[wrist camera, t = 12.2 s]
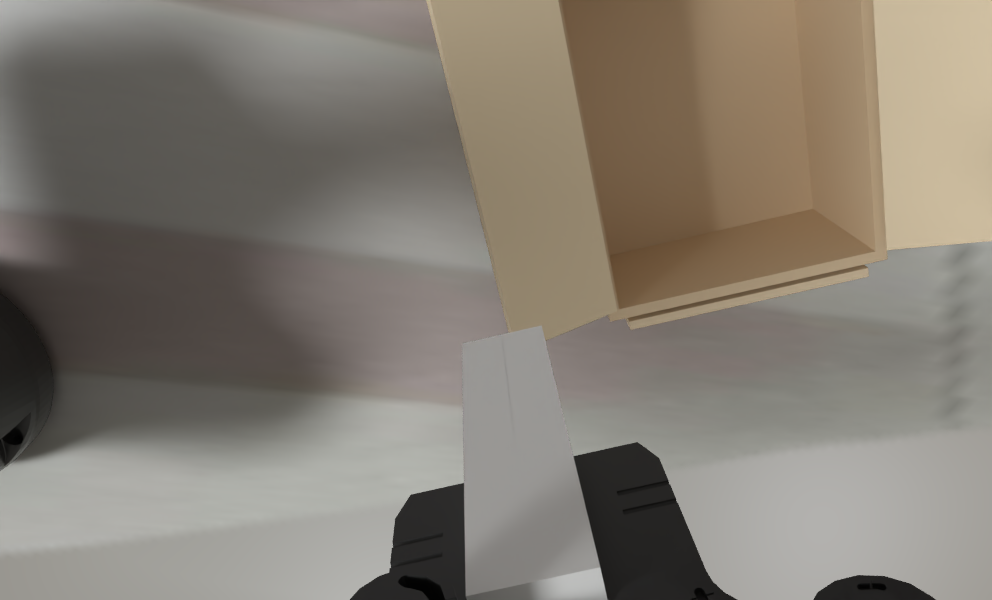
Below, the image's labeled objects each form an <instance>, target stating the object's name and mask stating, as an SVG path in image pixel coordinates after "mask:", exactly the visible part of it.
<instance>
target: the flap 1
mask: <svg viewBox="0 0 992 600" xmlns="http://www.w3.org/2000/svg"><path fill="white" fill-rule="evenodd" d="M426 1H427V5H428V9H429V13H430V17H431V21H432V25H433V29H434V33H435V37H436V41H437V45H438V49H439V54H440V58H441V62H442V66H443V70H444V74H445V78H446V82H447V86H448V90H449V94H450V98H451V102H452V106H453V110H454V114H455V118H456V122H457V126H458V130H459V134H460V138H461V142H462V146H463V150H464V154H465V158H466V162H467V166H468V170H469V175H470V179H471V183H472V187H473V191H474V195H475V199H476V203H477V207H478V211H479V215H480V219H481V223H482V227H483V231H484V235H485V239H486V243H487V247H488V251H489V255H490V259H491V263H492V267H493V271H494V275H495V279H496V283H497V287H498V291H499V296H500V300H501V304H502V308H503V312H504V316H505V320H506V324H507V328H508V332H509V333H510V332H515V331H519V330H523V329H528V328H532V327H537V326H541V325H542V329H543V333H544V337H545V341H546V340H549V339H551V338H554V337H556V336H558V335H561V334H563V333H566V332H568V331H570V330H573V329H575V328H578V327H580V326H583V325H585V324H587V323H590V322H592V321H595V320H597V319H599V318H602V317H604V316H607V315H609V314H612V313H614V312H616V311H617V306H616V301H615V296H614V291H613V285H612V280H611V275H610V270H609V264H608V259H607V254H606V249H605V244H604V238H603V233H602V228H601V223H600V217H599V212H598V207H597V202H596V196H595V191H594V186H593V181H592V175H591V170H590V165H589V160H588V154H587V149H586V144H585V139H584V133H583V128H582V123H581V118H580V113H579V107H578V102H577V97H576V92H575V86H574V81H573V76H572V71H571V65H570V60H569V55H568V50H567V44H566V39H565V34H564V29H563V23H562V18H561V13H560V8H559V2H558V0H426Z"/></svg>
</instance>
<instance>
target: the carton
mask: <svg viewBox="0 0 992 600" xmlns="http://www.w3.org/2000/svg"><path fill="white" fill-rule="evenodd" d="M558 2H559V8H560V13H561V18H562V23H563V29H564V34H565V39H566V44H567V50H568V55H569V60H570V65H571V71H572V76H573V81H574V86H575V92H576V97H577V102H578V107H579V113H580V118H581V123H582V128H583V133H584V139H585V144H586V149H587V154H588V160H589V165H590V170H591V175H592V181H593V186H594V191H595V196H596V202H597V207H598V212H599V217H600V223H601V228H602V233H603V238H604V244H605V249H606V254H607V259H608V264H609V270H610V275H611V280H612V285H613V291H614V296H615V301H616V306H617V311H616V312H614V313H612V314H609V315H608V317H609V320H610V322H611V321H616V320H620V319H626V321H627V323H628V325H629V327H630V330H633V329H638V328H642V327H646V326H651V325H655V324H660V323H664V322H669V321H673V320H678V319H682V318H686V317H691V316H695V315H700V314H704V313H709V312H713V311H718V310H722V309H727V308H731V307H735V306H740V305H744V304H749V303H753V302H758V301H762V300H767V299H771V298H775V297H780V296H784V295H789V294H793V293H798V292H802V291H807V290H811V289H816V288H820V287H824V286H829V285H833V284H838V283H842V282H847V281H851V280H856V279H860V278H864V277H869V273H868V268H867V267H866V266H865V265H864V264H869V263H873V262H877V261H882V260H886V259H887V249H886V238H885V220H884V201H883V183H882V165H881V146H880V128H879V110H878V91H877V73H876V55H875V36H874V18H873V0H558Z"/></svg>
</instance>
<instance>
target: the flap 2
mask: <svg viewBox="0 0 992 600" xmlns="http://www.w3.org/2000/svg"><path fill="white" fill-rule="evenodd" d="M873 18H874V36H875V55H876V73H877V91H878V110H879V128H880V146H881V165H882V183H883V201H884V220H885V238H886V249H887V250H894V249H906V248H917V247H928V246H940V245H951V244H963V243H974V242H985V241H992V0H873Z"/></svg>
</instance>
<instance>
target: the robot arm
mask: <svg viewBox="0 0 992 600" xmlns="http://www.w3.org/2000/svg"><path fill="white" fill-rule="evenodd" d="M462 388H463V453H464V483H462V484H458V485H453V486H448V487H444V488H439V489H435V490H430V491H426V492H421V493H417V494H412V495H410V497H409V498H408V500H407V502H406V503H405V505H404V506H403V508H402V509H401V511H400V512H399V514H398V516H397V517H396V519H395V527H394V536H393V548H392V553H391V562H390V563H391V568H390V572H389V573H387V574H384V575H382V576H379V577H377V578H376V579H374V580H373V581H371V582H369V583H368V584H366V585H365V586H364V587H362V588H360V589H359V590H358V591H357V592H356V593H355V594H354V596H353V597H352V598H351V599H350V600H737V599H735V598H733V597H731V596H729V595H728V594H726V593H724V592H723V591H722V590H721V589H720V588H719V587H718V586H717V585H716V584H714V583H713V581H712V580H711V578H710V576H709V575H708V573H707V572H706V569H705V568H704V565H703V562H702V560H701V558H700V555H699V553H698V550H697V548H696V546H695V543H694V541H693V539H692V536H691V534H690V531H689V529H688V526H687V524H686V522H685V519H684V517H683V514H682V512H681V510H680V507H679V505H678V503H677V501H676V498H675V496H674V493H673V491H672V488H671V486H670V485H669V482H668V479H667V476H666V474H665V471H664V469H663V467H662V464H661V462H660V459H659V458H658V457H657V456H655V455H654V454H653V453H651V452H650V451H649V450H647V449H646V448H645V447H643V446H642V445H641V444H639V443H638V442H636V443H632V444H627V445H623V446H618V447H614V448H609V449H605V450H600V451H596V452H591V453H587V454H582V455H578V456H573V453H572V449H571V444H570V440H569V436H568V432H567V428H566V424H565V420H564V416H563V411H562V407H561V403H560V399H559V395H558V391H557V387H556V383H555V378H554V374H553V370H552V366H551V362H550V358H549V354H548V350H547V345H546V341H545V337H544V333H543V329H542V325H541V326H537V327H532V328H528V329H523V330H519V331H515V332H510V333H506V334H502V335H497V336H493V337H488V338H484V339H480V340H475V341H471V342H467V343H462ZM52 399H53V377H52V371H51V366H50V362H49V359H48V356H47V353H46V351H45V348H44V346H43V344H42V342H41V340H40V338H39V336H38V335H37V333H36V332H35V330H34V328H33V327H32V326H31V324H30V323H29V321H28V320H27V319H26V318H25V317H24V315H23V314H22V313H21V312H20V311H19V310H18V309H17V308H16V307H15V306H14V305H13V304H12V303H11V302H10V301H9V300H8V299H7V298H5V297H4V296H3V295H2V294H0V471H1V470H2V469H4V468H5V467H6V466H8V465H9V464H10V463H12V462H13V461H14V460H15V459H16V458H17V457H18V456H19V455H20V454H21V453H22V452H23V451H24V450H25V449H26V447H27V446H28V445H29V444H30V443H31V442H32V441H33V440H34V439H35V438H36V436H37V435H38V434H39V432H40V431H41V429H42V428H43V426H44V424H45V422H46V420H47V418H48V415H49V412H50V409H51V405H52ZM814 600H935V599H934V598H933V597H931V596H930V595H928V594H926V593H924V592H923V591H921V590H920V589H918V588H916V587H915V586H913V585H912V584H909V583H906V582H902V581H899V580H895V579H892V578H888V577H885V576H863V575H857V576H853V577H849V578H845V579H841V580H837V581H834V582H833V583H831V584H830V585H828V586H827V587H825V588H824V589H822V590H821V591H819V592H818V593H817V595H816V596H815V598H814Z"/></svg>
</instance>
